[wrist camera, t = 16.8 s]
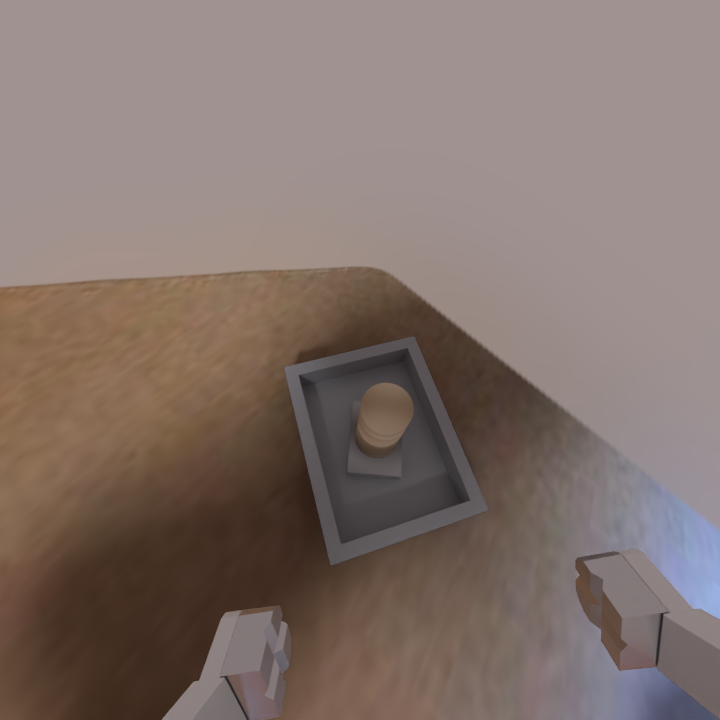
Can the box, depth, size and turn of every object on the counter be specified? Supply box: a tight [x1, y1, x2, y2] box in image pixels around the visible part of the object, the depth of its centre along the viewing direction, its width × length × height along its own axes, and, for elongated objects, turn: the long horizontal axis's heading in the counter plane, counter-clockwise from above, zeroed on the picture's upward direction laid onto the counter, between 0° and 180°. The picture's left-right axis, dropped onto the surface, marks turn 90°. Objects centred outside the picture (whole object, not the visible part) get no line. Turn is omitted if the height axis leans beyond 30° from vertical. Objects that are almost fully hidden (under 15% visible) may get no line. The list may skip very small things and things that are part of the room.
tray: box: [284, 336, 489, 566], centre depth 35 cm, size 18×14×4 cm
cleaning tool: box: [347, 383, 414, 479], centre depth 32 cm, size 7×5×10 cm
